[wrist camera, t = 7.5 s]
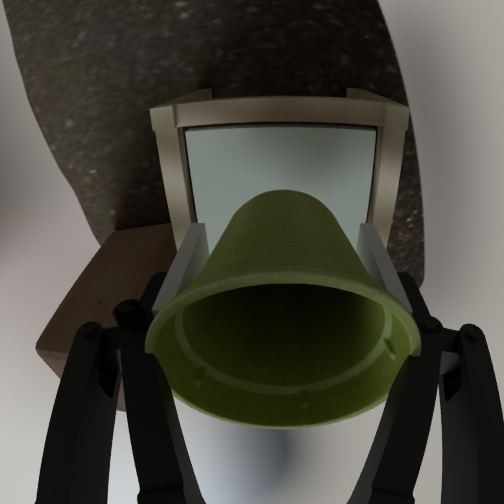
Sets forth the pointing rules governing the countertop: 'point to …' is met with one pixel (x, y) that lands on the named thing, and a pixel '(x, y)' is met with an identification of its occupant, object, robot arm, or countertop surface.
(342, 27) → the countertop surface
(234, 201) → the trapdoor
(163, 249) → the wooden block
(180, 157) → the frame
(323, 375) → the plant pot
